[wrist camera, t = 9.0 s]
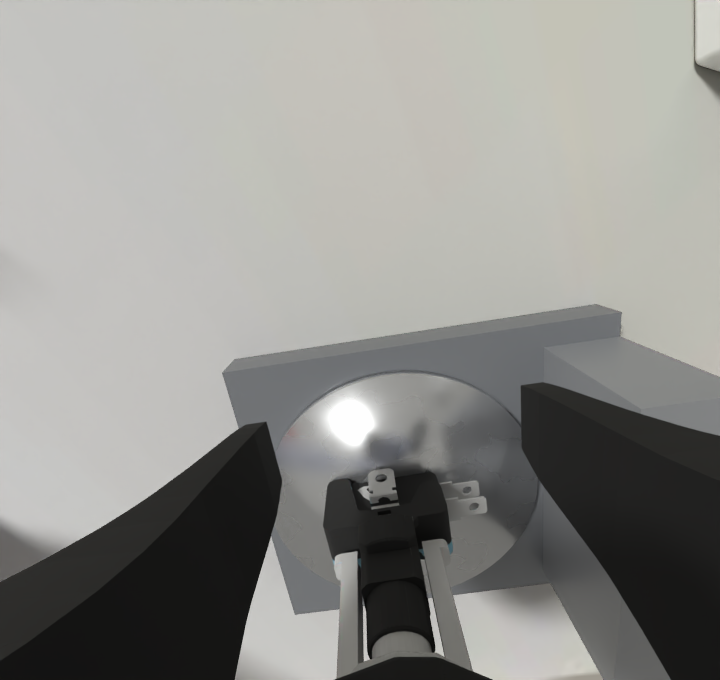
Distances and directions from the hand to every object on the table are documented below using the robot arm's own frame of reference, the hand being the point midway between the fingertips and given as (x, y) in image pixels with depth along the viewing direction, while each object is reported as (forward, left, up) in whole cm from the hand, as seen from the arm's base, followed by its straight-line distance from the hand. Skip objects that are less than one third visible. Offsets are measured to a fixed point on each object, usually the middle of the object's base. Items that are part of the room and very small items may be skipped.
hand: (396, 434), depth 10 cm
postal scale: (+2, -6, -6) cm, 9 cm away
